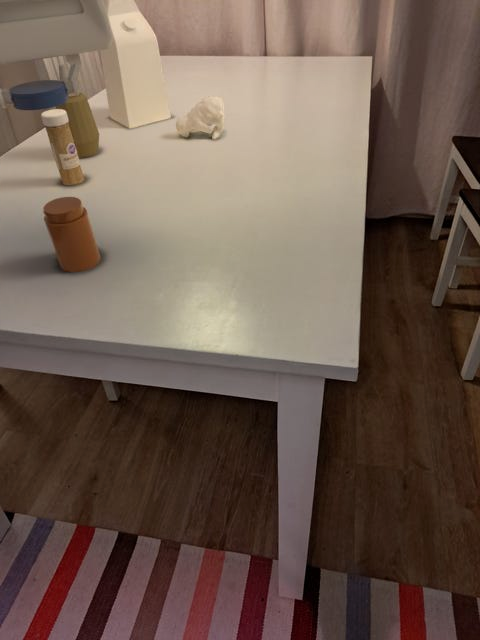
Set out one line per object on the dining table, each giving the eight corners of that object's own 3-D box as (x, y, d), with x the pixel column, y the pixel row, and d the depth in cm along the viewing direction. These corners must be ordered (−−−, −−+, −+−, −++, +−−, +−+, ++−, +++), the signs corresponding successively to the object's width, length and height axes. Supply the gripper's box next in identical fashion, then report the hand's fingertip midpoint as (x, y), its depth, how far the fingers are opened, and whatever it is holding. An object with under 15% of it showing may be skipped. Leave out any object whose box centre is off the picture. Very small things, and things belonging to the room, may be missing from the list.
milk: (150, 108, 129) (132, -6, 112) (171, 117, 121) (155, -3, 104) (110, 118, 124) (85, 0, 107) (129, 128, 116) (105, 4, 99)
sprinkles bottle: (78, 187, 92) (58, 116, 83) (57, 185, 93) (35, 115, 84) (88, 177, 95) (70, 108, 86) (68, 176, 96) (48, 107, 87)
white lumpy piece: (222, 99, 102) (169, 107, 103) (228, 138, 108) (178, 145, 109) (223, 91, 107) (172, 99, 108) (228, 128, 112) (180, 135, 113)
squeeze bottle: (73, 147, 108) (49, 61, 97) (107, 146, 108) (87, 59, 96) (62, 161, 102) (34, 71, 91) (97, 160, 102) (75, 69, 90)
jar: (52, 264, 71) (31, 208, 65) (83, 247, 75) (66, 191, 68) (77, 277, 68) (57, 219, 62) (108, 258, 72) (92, 201, 66)
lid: (63, 107, 55) (59, 91, 54) (7, 112, 55) (1, 96, 54) (72, 93, 60) (68, 78, 59) (20, 97, 60) (15, 82, 59)
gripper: (-116, -30, 43) (-49, 124, 52) (101, -47, 50) (127, 92, 59) (-113, -33, 47) (-51, 109, 56) (86, -48, 54) (113, 81, 63)
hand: (41, 100), depth 58 cm, fingers closed on lid, 6 cm apart
